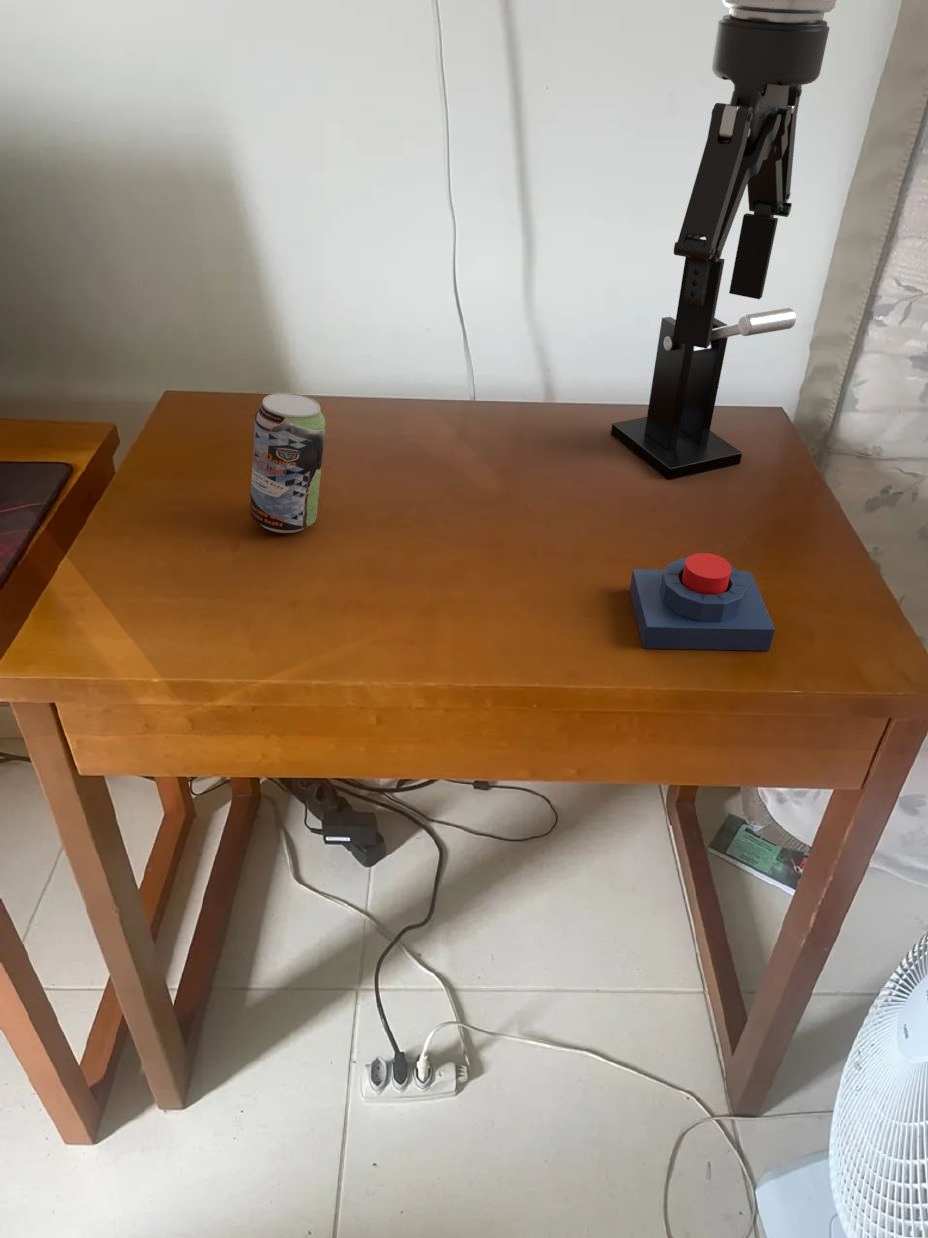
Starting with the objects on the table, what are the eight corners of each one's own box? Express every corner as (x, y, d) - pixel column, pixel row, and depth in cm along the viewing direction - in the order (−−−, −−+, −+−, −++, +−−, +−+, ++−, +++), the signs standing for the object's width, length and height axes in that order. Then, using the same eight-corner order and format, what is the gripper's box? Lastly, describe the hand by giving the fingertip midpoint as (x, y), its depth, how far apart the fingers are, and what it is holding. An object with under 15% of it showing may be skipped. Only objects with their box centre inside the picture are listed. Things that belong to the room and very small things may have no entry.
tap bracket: (740, 463, 102) (768, 335, 94) (668, 480, 99) (691, 348, 91) (678, 420, 110) (700, 298, 102) (610, 434, 107) (626, 309, 99)
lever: (797, 330, 88) (794, 302, 87) (752, 338, 86) (749, 309, 85) (706, 350, 100) (703, 326, 99) (665, 357, 98) (661, 332, 98)
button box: (746, 592, 84) (755, 553, 81) (769, 651, 77) (780, 610, 75) (629, 589, 84) (635, 550, 81) (643, 649, 77) (650, 608, 75)
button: (722, 571, 80) (726, 553, 79) (731, 597, 77) (736, 578, 76) (677, 570, 80) (681, 552, 79) (686, 596, 77) (689, 577, 76)
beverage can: (240, 519, 91) (224, 398, 84) (309, 496, 95) (300, 379, 87) (272, 550, 87) (259, 425, 80) (343, 524, 91) (337, 404, 83)
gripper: (773, -2, 78) (724, 270, 90) (656, 24, 60) (616, 356, 73) (870, 5, 75) (806, 285, 87) (776, 34, 57) (713, 378, 70)
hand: (719, 318), depth 80 cm, fingers open, 13 cm apart
